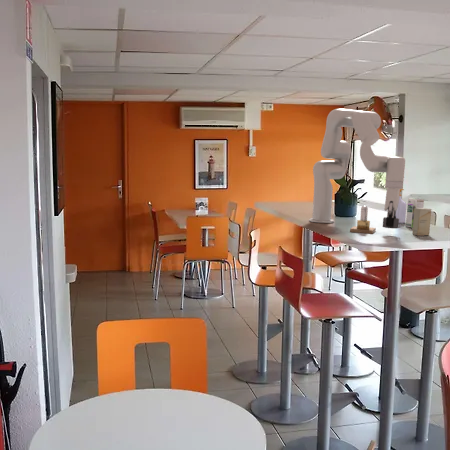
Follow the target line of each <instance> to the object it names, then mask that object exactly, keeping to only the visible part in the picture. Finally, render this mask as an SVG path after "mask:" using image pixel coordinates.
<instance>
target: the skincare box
mask: <svg viewBox="0 0 450 450" xmlns="http://www.w3.org/2000/svg"><path fill="white" fill-rule="evenodd" d="M431 219H432V209H431V208H426V207H423V208H414V220H413V228H412V231H411V232H412V233H411V234H412V236H413V235H414V236H418V237H419V236H424V235H429V236H430V231H431V230H430V227H431V221H432V220H431Z"/></svg>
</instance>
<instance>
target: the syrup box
mask: <svg viewBox="0 0 450 450" xmlns="http://www.w3.org/2000/svg"><path fill="white" fill-rule="evenodd" d="M424 205H425V199H422V198H415V197H409V198H407V203H406V218H405V227H406V228H412V229H413V220H414V208H424Z"/></svg>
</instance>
